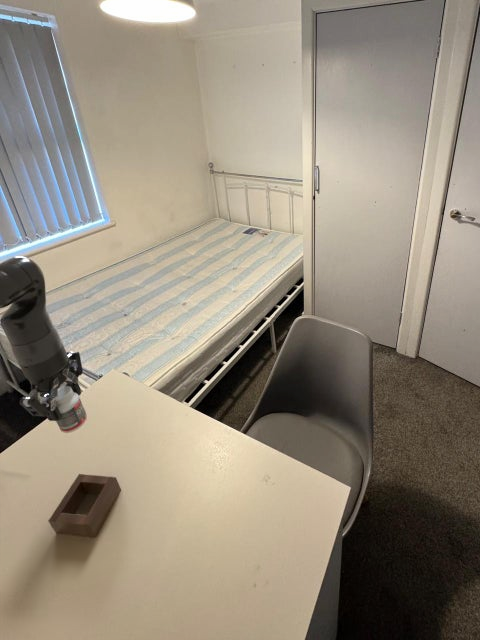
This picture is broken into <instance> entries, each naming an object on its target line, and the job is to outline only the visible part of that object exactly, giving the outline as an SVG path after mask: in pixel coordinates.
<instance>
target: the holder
mask: <svg viewBox="0 0 480 640" xmlns="http://www.w3.org/2000/svg"><path fill="white" fill-rule="evenodd" d="M121 491H122V489H121V485H120V484H119V481H118V479H117V477H116V476H106V475H95V474H84V473H79V474H78V475H77V476H76V478H75V479H74V481H73V482H72V484H71V486H70V487H69V488H68V490H67V491H66V493H65V494H64V496H63V497H62V499H61V501H60V502H59V504H58V505H57V507H56V508H55V510H54V511H53V513H52V515H51V516H50V518H49V519H48V523H49V525H50V526H51V528H52V530H53V531H54V533H55V534H58V535H59V534H60V535H66V536H67V535H69V536H76V537H85V538H95V539H96V538H97V536H98V534H99V533H100V531H101V529H102V527H103V525H104V523H105V521H106V520H107V518H108V516H109V514H110V512H111V510H112V508H113V506H114V504H115V502H116V500H117V499H118V496H119V495H120V493H121ZM88 495H93V496H97V498H96V500H95V501H94V503H93V505H92V506H91V508H90V509H89V512H88V513H87V515H85V514H78V513H77V512H78V509H80V507H81V504H82V503H83V501H84V500H85V499H86V497H87V496H88ZM76 513H77V514H76Z"/></svg>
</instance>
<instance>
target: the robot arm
mask: <svg viewBox="0 0 480 640" xmlns="http://www.w3.org/2000/svg"><path fill="white" fill-rule="evenodd" d="M46 290H47V289H46V280H45V275H44V272H43V271H42V269H41V267H40V266H39V265H38V263H37V262H35V261H34V260H32V259H31V258H29V257H26V256H14V257H11V258H8V259H6V260H4V261H2V262H0V309H5V308H6V307H8V306H9V307H8V308H7V309H6V310H5V311H4V313H2V315H1V317H0V327H1V328H2V331H3V333H4V334H5V336H6V339H7V340H8V343H9V345H10V348H11V352H12V355H13V356H14V358H15V360H16V362H17V363H18V366H19V367H20V370H21V372H22V373H23V375H24V378H25V379H26V380H28V381H29V382H30V390H31V391H30V392H29V393H28V395H27V396H25V397H24V396H23V397H21V398H20V399H19V405H20V406H22V407H23V408H24V410H26V411H27V412H28V413H29V414H30V415H31V416H32V417H46V418H47V420H48V421H50V422H56V421H59V420H60V419H61V418H62V415H61V413H60V411H59V409H58V407H57V406H56V398H57V397H58V389H59V388H61V385H63V384H65V386H69V387H71V388H72V390H73V392H75V393H77V394H78V395H79V397H80V396H81V394H82V392H81V391H82V389H81V387H80V384H79V377H80V376H82V375H83V372H84V370H83V365H82V359H81V354H80V351H67V350H66V347H65V345H64V343H63V341H62V339H61V336H60V334H59V332H58V329H56V327H55V326H54V323H53V321H52V319H51V317H50V315H49V312H48V311H47V292H46Z"/></svg>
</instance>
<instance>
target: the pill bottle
mask: <svg viewBox="0 0 480 640" xmlns="http://www.w3.org/2000/svg"><path fill="white" fill-rule="evenodd" d="M56 406H57V407H58V409H59V411H60V413H61V415H62V418H61V419H60V420H59V421H55V422H56V424H57V426H58V428H59V430H60V431H61V432H62V433H64V434H69V433H73V432H75V431H77V430H79V429H81V428H82V426H84V425H85V423H86V421H87V419H88V413H87V412H86V409H85V407H84V404H83V402H82V400H81V398H80V396H79V395H78V394H77V393H75V392H73V390H72V388H71V387H69V386H66V385H65V386H60V387H59V388H58V397H57V398H56Z"/></svg>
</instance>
